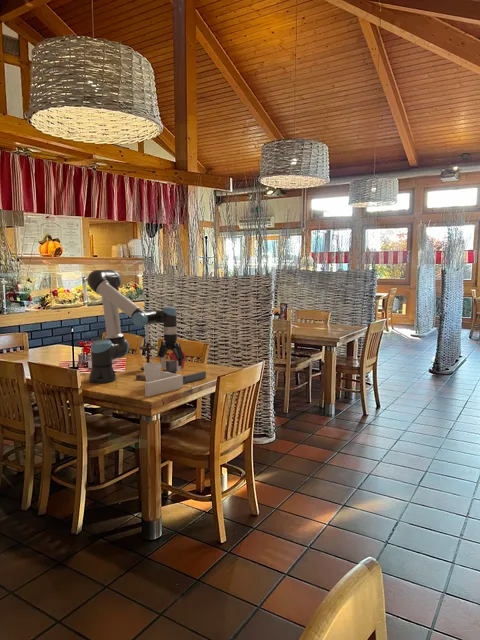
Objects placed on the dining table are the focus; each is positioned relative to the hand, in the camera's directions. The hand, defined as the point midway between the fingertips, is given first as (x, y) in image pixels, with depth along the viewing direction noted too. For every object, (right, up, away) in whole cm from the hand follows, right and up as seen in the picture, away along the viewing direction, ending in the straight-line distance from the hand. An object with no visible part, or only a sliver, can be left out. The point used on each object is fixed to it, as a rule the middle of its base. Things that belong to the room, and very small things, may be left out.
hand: (171, 369), depth 277 cm
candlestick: (-20, -3, +34) cm, 40 cm away
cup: (-8, -8, -15) cm, 19 cm away
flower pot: (-1, -3, +37) cm, 37 cm away
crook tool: (+8, -6, +4) cm, 11 cm away
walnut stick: (-13, -7, +4) cm, 15 cm away
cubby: (-6, -9, -18) cm, 21 cm away
